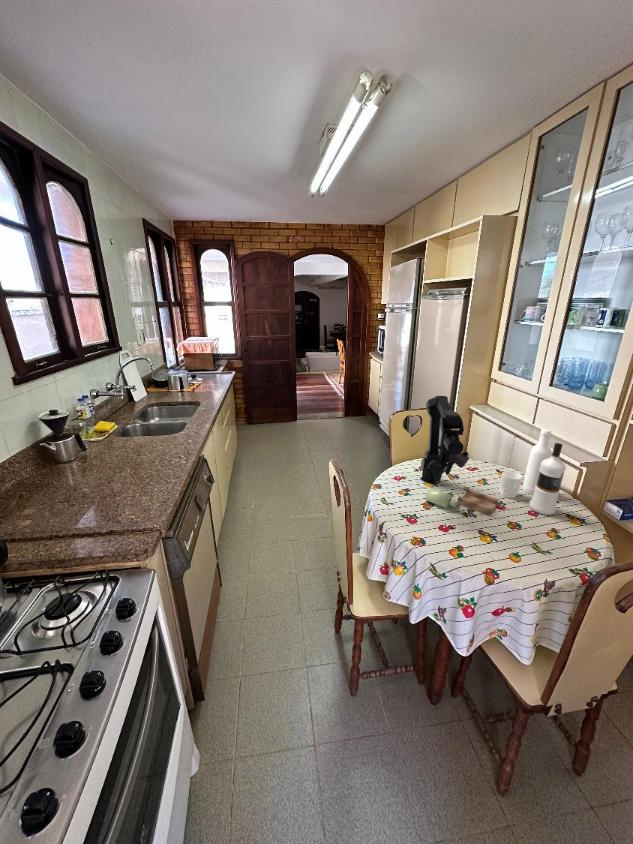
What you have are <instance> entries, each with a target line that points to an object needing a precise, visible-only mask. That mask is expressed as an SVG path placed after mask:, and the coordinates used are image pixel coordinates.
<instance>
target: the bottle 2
mask: <svg viewBox="0 0 633 844" xmlns="http://www.w3.org/2000/svg"><path fill="white" fill-rule="evenodd" d="M539 434H540V435H539V439H538V443H537V444H535V445H534V446H533V447H531V449H530V453H529V457H528V462H527V466H526V470H525V475H524V479H523V483H522V487H521V489H522V491H523V492H524V493H527V494H528V495H531V496H533V495H534V492H535V486H536V484H537V480H538V476H539V472H540V470H539V469H540V465H541V462H542V461H543V460H545V459H548V458H551V457H552V453H553V452H552V449H551V447H549V443H550V438H551V435H552V430H551V429H548V428H542V429H541V430H540V433H539Z"/></svg>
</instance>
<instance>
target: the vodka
mask: <svg viewBox="0 0 633 844" xmlns="http://www.w3.org/2000/svg"><path fill="white" fill-rule="evenodd" d="M562 448H563V444H562V443H560V442H555V443H554V445H553V449H552V452H551V453H552V455H551V458H548V459H545V460H543V461H542V462H541V465H540V469H539V470H540V472H539V476H538V480H537V484H536V486H535V492H534V495H532V498H531V500H530V502H529V508H530V509H531V510H533V511H534V512H535V513H537V514H540V515H543V516H551V515H554V514H555V513H556V510H557V501H558V496H559V494H560V490H561V485H562V482H563V478H564V476H565V472H566V469H567V467H566V465H565V463H564V462H562V461H561V460H560V457H561V452H562Z"/></svg>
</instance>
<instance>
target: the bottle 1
mask: <svg viewBox="0 0 633 844" xmlns="http://www.w3.org/2000/svg"><path fill="white" fill-rule="evenodd" d="M424 498H425V500H426V501H427V502H429V503H432V504H435V505H437V506H439V507H442V508H444V509H447V510H448V508H450V506H451V507H453V508H455V509H457V510H459V508H460V507H461V505H460V502H457V500H453V495H452V494H449V493H447V492H444V491H441V490H440V489H437V488H433V487H431V486H430V487H429V488H428V489H427V490H426V493H425V497H424Z"/></svg>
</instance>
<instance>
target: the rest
mask: <svg viewBox="0 0 633 844" xmlns="http://www.w3.org/2000/svg"><path fill="white" fill-rule="evenodd" d="M456 502H460V506H462V507H465V508H467V509H470V510H473V511H474V512H478V513H481V514H483V515H485V516H488V517H490V515H491V514H492V513H493V511H494V510H495V509H497V507H498V504H499V499H498V498H496V497H493V496H490V495H487V494H485V493H481V492H479V491H475V490H473V489H470V488H466V490H465V494H464V495H462V496H458V497H457V500H456Z"/></svg>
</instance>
